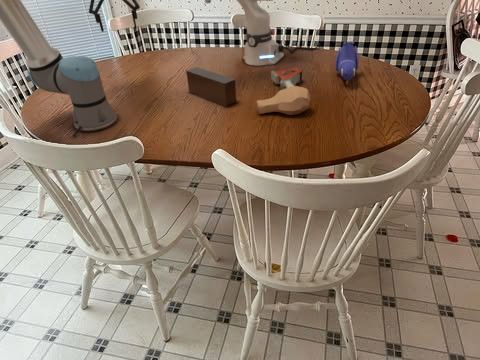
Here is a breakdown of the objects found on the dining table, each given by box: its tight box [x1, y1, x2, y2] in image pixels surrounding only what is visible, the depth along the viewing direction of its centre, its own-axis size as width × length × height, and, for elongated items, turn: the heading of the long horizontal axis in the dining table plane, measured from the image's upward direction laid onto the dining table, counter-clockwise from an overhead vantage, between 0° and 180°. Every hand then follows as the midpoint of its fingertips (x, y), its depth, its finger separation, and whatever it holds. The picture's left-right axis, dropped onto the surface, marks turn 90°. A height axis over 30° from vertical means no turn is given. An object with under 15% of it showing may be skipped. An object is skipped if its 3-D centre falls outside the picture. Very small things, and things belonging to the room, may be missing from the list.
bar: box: [185, 66, 237, 108], centre depth 144 cm, size 24×6×10 cm, turn 44°
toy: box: [334, 40, 360, 86], centre depth 151 cm, size 10×17×25 cm
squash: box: [255, 85, 312, 116], centre depth 130 cm, size 11×20×9 cm, turn 92°
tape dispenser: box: [270, 67, 303, 90], centre depth 150 cm, size 18×5×20 cm
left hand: (119, 29), depth 150 cm, fingers open, 13 cm apart
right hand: (216, 1), depth 143 cm, fingers open, 8 cm apart
